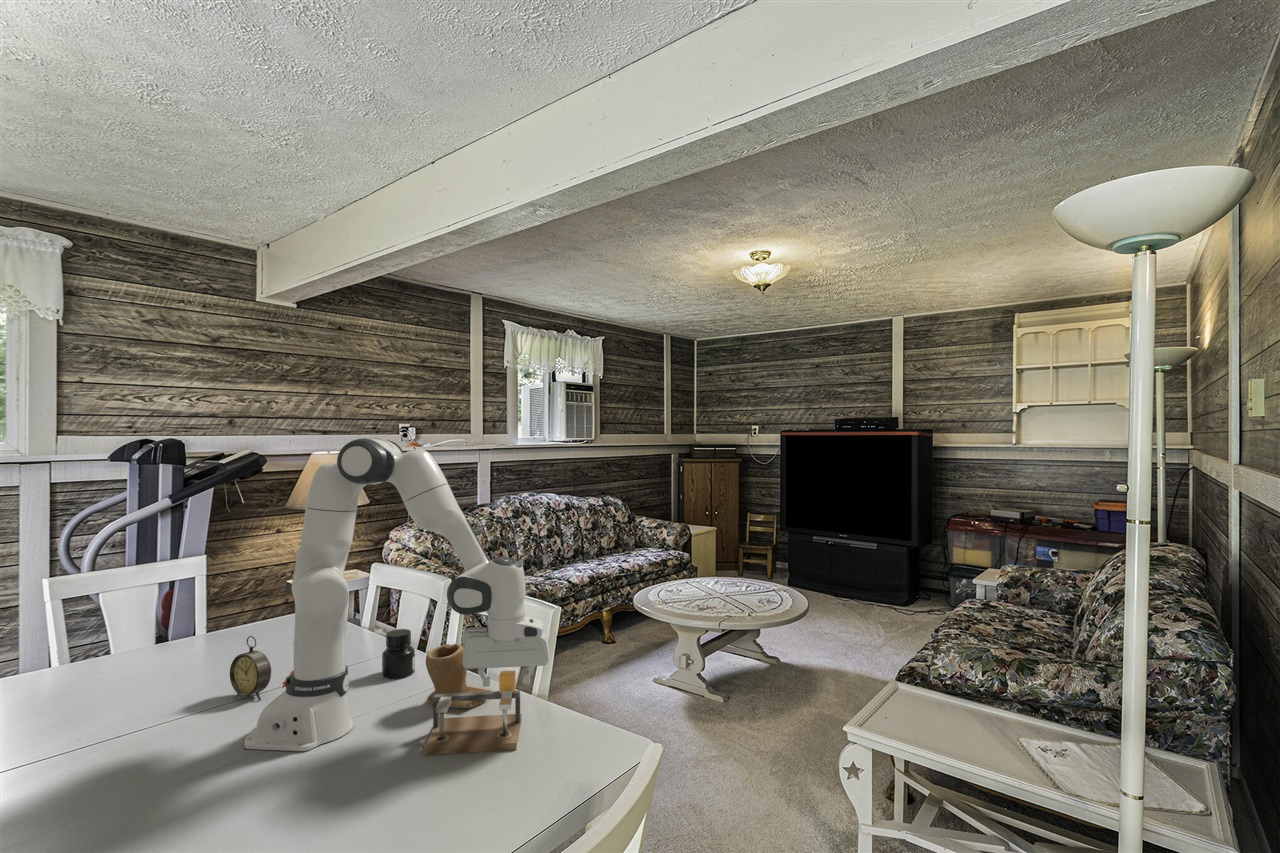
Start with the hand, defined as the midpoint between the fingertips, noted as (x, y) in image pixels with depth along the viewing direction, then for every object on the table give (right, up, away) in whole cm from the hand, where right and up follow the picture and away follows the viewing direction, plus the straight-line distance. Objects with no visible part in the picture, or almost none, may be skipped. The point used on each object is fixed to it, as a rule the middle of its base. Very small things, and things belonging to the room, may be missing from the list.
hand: (506, 684), depth 147 cm
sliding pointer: (+1, -9, -2) cm, 9 cm away
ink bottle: (-39, -11, +33) cm, 52 cm away
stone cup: (-16, -11, +13) cm, 24 cm away
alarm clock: (-72, -11, +18) cm, 75 cm away
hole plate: (-7, -11, -4) cm, 13 cm away
